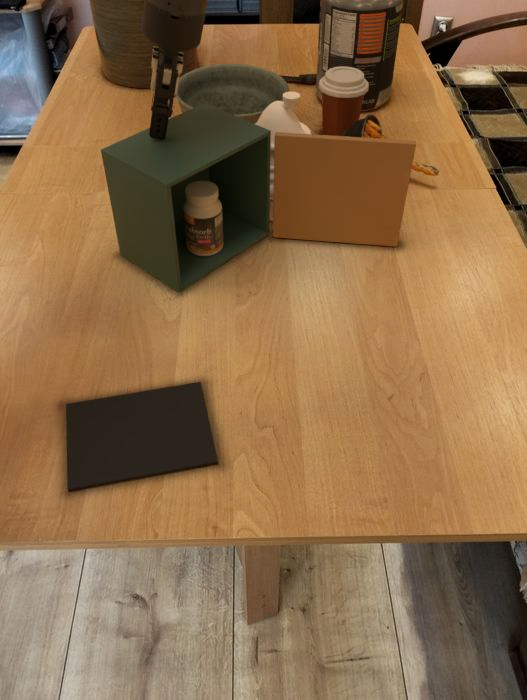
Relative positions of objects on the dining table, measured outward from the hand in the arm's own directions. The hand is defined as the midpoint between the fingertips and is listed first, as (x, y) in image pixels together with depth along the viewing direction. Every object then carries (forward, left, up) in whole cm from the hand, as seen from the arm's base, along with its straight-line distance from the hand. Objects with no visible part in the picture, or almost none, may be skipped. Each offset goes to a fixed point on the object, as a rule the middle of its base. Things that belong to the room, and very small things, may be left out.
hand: (158, 122), depth 89 cm
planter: (+3, +63, -18) cm, 66 cm away
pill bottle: (+4, -7, -17) cm, 19 cm away
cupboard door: (+25, -7, -17) cm, 31 cm away
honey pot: (+18, +4, -18) cm, 26 cm away
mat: (-9, -40, -18) cm, 44 cm away
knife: (+29, +52, -18) cm, 63 cm away
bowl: (+15, +27, -18) cm, 36 cm away
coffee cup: (+35, +23, -18) cm, 46 cm away
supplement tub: (+43, +39, -18) cm, 61 cm away
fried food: (+39, +9, -18) cm, 44 cm away
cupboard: (+3, -5, -17) cm, 19 cm away
